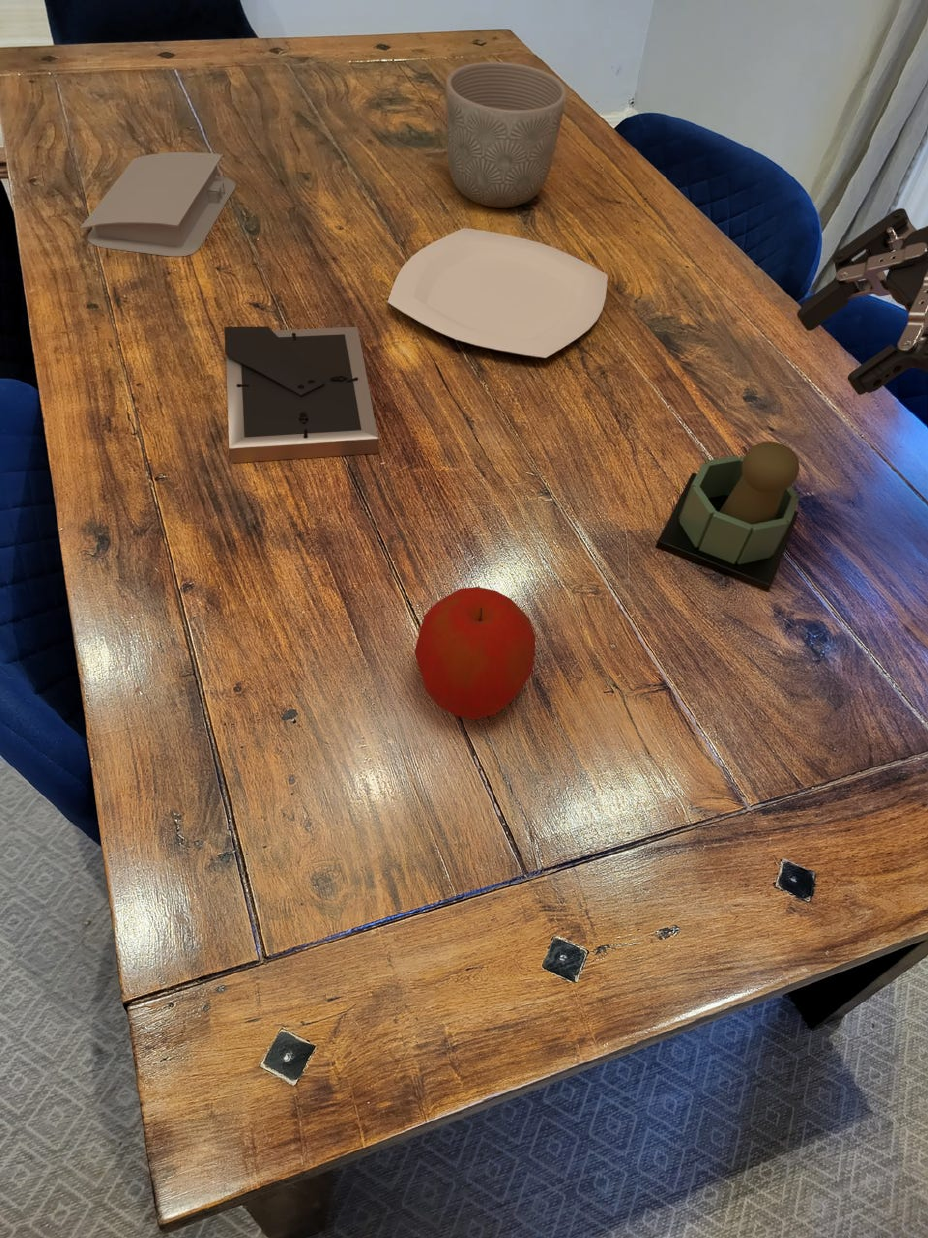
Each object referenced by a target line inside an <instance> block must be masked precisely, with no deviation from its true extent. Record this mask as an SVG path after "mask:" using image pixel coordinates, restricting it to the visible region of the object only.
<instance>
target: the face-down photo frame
mask: <svg viewBox="0 0 928 1238" xmlns="http://www.w3.org/2000/svg"><path fill="white" fill-rule="evenodd" d="M224 353H225V363H226V364H225V365H226V366H225V368H226V369H225V370H226V396H227V397H226V398H227V400H226V401H227V427H228V428H227V429H228V450H229V456H230V461H231V464H242V463H255V462H271V461H272V462H273V461H285V460H299V459H301V460H302V459H313V458H315V459H317V458H331V457H343V456H345V457H346V456H358V455H360V456H361V455H373V454H379V453H380V438H379V433H378V428H377V421H376V417H375V411H374V406H373V403H372V402H373V401H372V395H371V390H370V385H369V379H368V375H367V368H366V364H365V358H364V353H363V348H362V343H361V337H360V332H359V326H342V327H341V326H340V327H318V328H299V329H298V328H296V329H274V330H273V329H271V328H270V327H269V326H267V325H265V326H263V325H259V326H258V325H257V326H255V325H254V326H224Z"/></svg>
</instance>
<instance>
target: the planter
mask: <svg viewBox="0 0 928 1238" xmlns="http://www.w3.org/2000/svg"><path fill="white" fill-rule="evenodd" d="M445 85H446V86H445V90H446V91H445V92H446V93H445V95H446V97H445V99H446V100H445V101H446V102H445V105H446V157H447V165H448V170H449V173H450V176H451V178H452V181H453V183H454V185H455V187H456V188H457V189H458V191H460V193H461V194H462V195H463V196H464V197H466V198H467V199H469V200H471V201H472V202H473V203H476V204H479V205H481V206H484V207H489V208H496V209H506V208H513V207H518V206H521V205H524V204H525V203H527V202H529V201H530V200H532V199H534V197H536V195H538V194H539V192H541V190H542V188H543V187H544V186H545V184H546V182H547V179H548V177H549V175H550V172H551V169H552V164H553V161H554V155H555V151H556V146H557V144H558V143H557V142H558V137H559V132H560V128H561V124H562V119H563V116H564V115H563V114H564V111H565V106H566V101H567V95H568V93H567V89H566V86H565V85H564V83H563V82H562V81H561V80H560V79H559V78H557V77H556V76H554V75H553V74H551V73H549V72H547V71H545V70H543V69H540V68H537V67H534V66H530V65H527V64H522V63H517V62H508V61H480V62H473V63H469V64H465V65H462V66H460V67H458V68H456V69H454V70H453V71H451V72H450V73H449V74H448V76H447V78H446V81H445Z"/></svg>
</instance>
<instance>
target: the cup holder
mask: <svg viewBox="0 0 928 1238" xmlns="http://www.w3.org/2000/svg"><path fill="white" fill-rule="evenodd" d="M744 458H745V456H743V455H740V457H739V456H738V455H737V454H736V455H731V456H730V455H729V456H723V457H720V458H719V457H718V458H714V459H707V460H705V461H704V462H702V463H701V465H700V467H699V469H698V471H697V472H692V473H691V474H690V476H689V479H688V480H687V482H686V485H685V486H684V488H683V490H682V491H681V492H682V493H681V494H680V497H679V498H678V500H677V502H676V505H675V506H674V508H673V510H672V512H671V514H670V516H669V518H668V520H667V522H666V524H665V526H664V528H663V529H662V532H661V534H660V536H659V537H658V539H657V542H656V545H655V548H657V549H660V550H662V551H664V552H667V553H670V554H672V555H675V556H677V557H680V558H682V559H684V560H686V561H690V562H692V563H694V564H697V565H700V566H702V567H704V568H707V569H709V570H712V571H715V572H717V573H719V574H722V575H725V576H727V577H729V578H732V579H734V580H737V581H740V582H742V583H744V584H747V585H750V586H752V587H754V588H757V589H759V590H762V591H764V592H766V593H767V592H769V591H770V590H771V588H772V586H773V582H774V580H775V578H776V575H777V573H778V569H779V567H780V564H781V562H782V559H783V556H784V554H785V551H786V548H787V545H788V543H789V539H791V538H790V537H791V535H792V532H793V530H794V526H795V524H796V521H797V519H798V516H799V514H800V512H799V511H797V510H796V508H797V506H798V504H799V502H800V498H799V494H798V493H797V491H796V490H795V489H794V488H793V486H792V485H791V486H789V487H788V488H787V489H785V490H784V492H783V495H782V499H781V502H780V505H779V509H778V512H777V515H776V519H775V520H772V521H767V522H763V523H758V524H753V525H751V524H749V523H746V522H743V521H741V520H738V519H736V518H733V517H730V516H728V515H725V514H723V513H720V512H719V511H720V509H721V508H722V506H723V505H724V503H725V502H726V500H727V499H728V497H729V495H730V494H731V492H732V491H733V489H734V488H735V486H736V484H737V483H738V481H739V480H740V478H741V477H742V475H743V473H742V463H743V460H744Z"/></svg>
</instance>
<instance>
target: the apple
mask: <svg viewBox="0 0 928 1238" xmlns="http://www.w3.org/2000/svg"><path fill="white" fill-rule="evenodd" d="M414 648H415V649H414V652H413V653H414V656H415V659H416V663H417V666H418V669H419V673H420V677H421V680H422V683H423V687H424V689H425V692H426V694H427V695H428V696H429V697H430V698H431V699H432V701H433V702H434V703H435V704H436V705H437V707H439V708H440V709H442V710H444V711H446V712H447V713H449V714H451V715H452V716H454V717H458V718H464V719H469V720H478V719H482V718H486V717H490V716H494V715H496V714H497V713H499V712H500V711H501V710H503V709H504V708H506V707H507V706H508V705H509V704H511V702H512V701H513V700H514V699H515V697H516V696H517V695H518V694H519V693H520V691H521V690H522V688H523V687H524V686H525V684H526V682H527V681H528V680H529V678H530V676H531V675H532V671H533V665H534V661H535V656H536V635H535V631H534V628H533V625H532V623H531V620H530V618H529V617H528V615H526V613H525V612H524V611H523V610H522V609H521V608H520V607H519V605H517V604H516V603H515V602H514V600H513V599H512V598H510V597H509V596H506V595H505V594H503V593H500V592H499V591H497V590H494V589H489V588H484V587H479V586H475V587H465V588H464V587H463V588H459V589H458V590H455V591H454V592H452V593H449V595H447V596H445V597H443V598H442V599H440V600H438V601H436V602H435V604H433V606H432V607H431V608H430V609H429V610H428V611H427V612H426V613H425V614H424V615H423V618H422V622H421V625H420V629H419V632H418V636H417V640H416V645H415V647H414Z"/></svg>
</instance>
